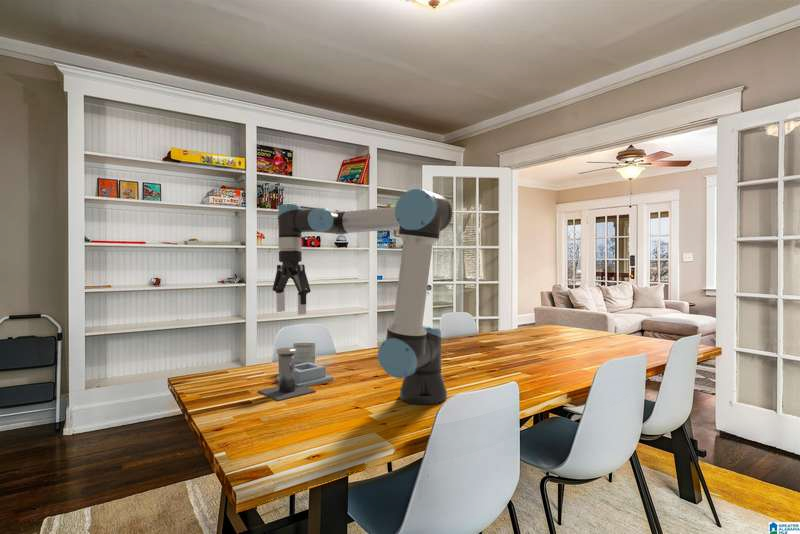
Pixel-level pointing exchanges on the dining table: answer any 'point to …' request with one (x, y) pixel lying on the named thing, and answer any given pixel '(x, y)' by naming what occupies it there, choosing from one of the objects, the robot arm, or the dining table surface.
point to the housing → (310, 374)
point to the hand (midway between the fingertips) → (291, 313)
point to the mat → (279, 396)
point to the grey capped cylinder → (286, 369)
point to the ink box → (305, 352)
